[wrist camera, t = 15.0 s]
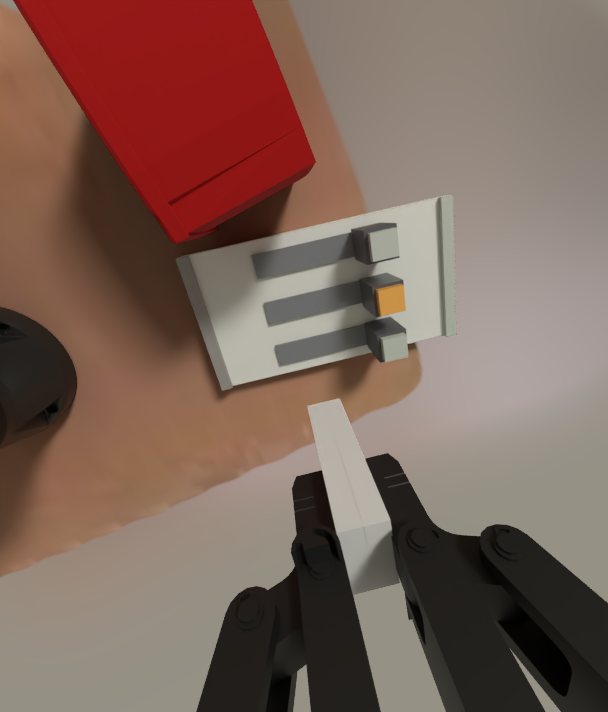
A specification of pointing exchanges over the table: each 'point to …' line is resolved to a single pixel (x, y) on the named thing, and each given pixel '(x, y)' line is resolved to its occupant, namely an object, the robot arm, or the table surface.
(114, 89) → the red rectangular box
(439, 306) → the white slider panel
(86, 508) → the table surface
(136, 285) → the table surface
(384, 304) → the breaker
